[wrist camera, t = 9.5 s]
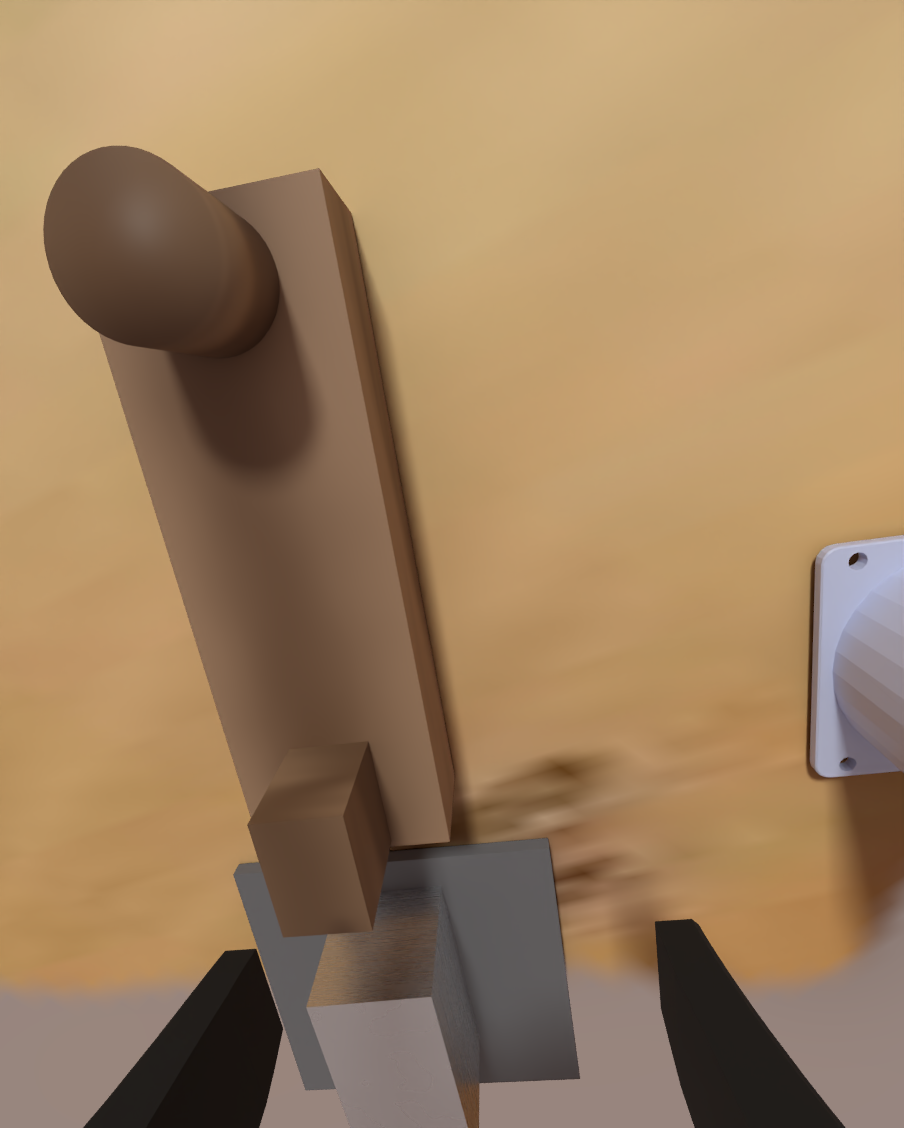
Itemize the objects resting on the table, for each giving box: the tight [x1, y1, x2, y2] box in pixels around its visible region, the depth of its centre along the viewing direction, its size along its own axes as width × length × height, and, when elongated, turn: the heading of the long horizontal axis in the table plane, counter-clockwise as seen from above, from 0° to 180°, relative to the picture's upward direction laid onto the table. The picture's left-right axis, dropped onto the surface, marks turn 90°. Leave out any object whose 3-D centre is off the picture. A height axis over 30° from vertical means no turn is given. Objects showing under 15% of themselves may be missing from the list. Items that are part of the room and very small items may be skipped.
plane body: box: [44, 146, 455, 938], centre depth 15 cm, size 6×18×6 cm, turn 9°
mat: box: [234, 838, 580, 1090], centre depth 22 cm, size 12×12×1 cm
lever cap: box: [306, 886, 480, 1128], centre depth 20 cm, size 4×8×4 cm, turn 11°
